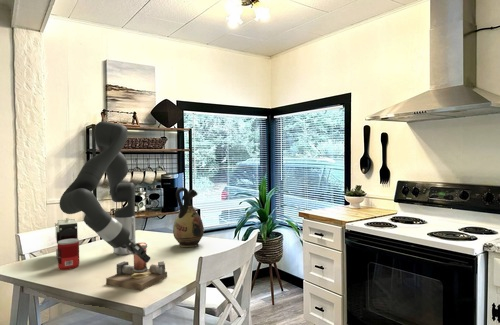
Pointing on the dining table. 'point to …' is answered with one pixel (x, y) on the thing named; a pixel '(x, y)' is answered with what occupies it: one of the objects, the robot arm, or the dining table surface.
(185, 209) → the ceramic jug
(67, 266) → the canned food
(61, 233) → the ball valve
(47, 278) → the dining table surface
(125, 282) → the shaft bench
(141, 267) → the sleeve
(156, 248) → the dining table surface
